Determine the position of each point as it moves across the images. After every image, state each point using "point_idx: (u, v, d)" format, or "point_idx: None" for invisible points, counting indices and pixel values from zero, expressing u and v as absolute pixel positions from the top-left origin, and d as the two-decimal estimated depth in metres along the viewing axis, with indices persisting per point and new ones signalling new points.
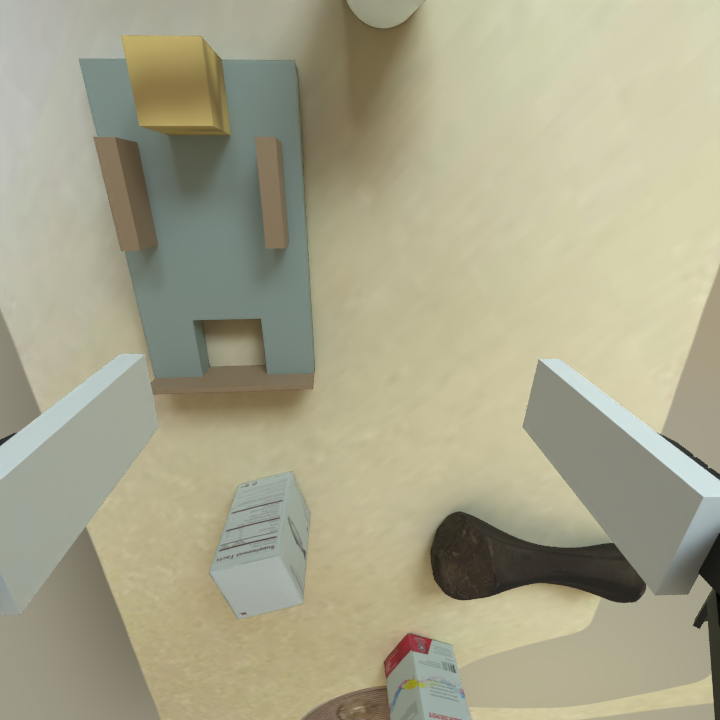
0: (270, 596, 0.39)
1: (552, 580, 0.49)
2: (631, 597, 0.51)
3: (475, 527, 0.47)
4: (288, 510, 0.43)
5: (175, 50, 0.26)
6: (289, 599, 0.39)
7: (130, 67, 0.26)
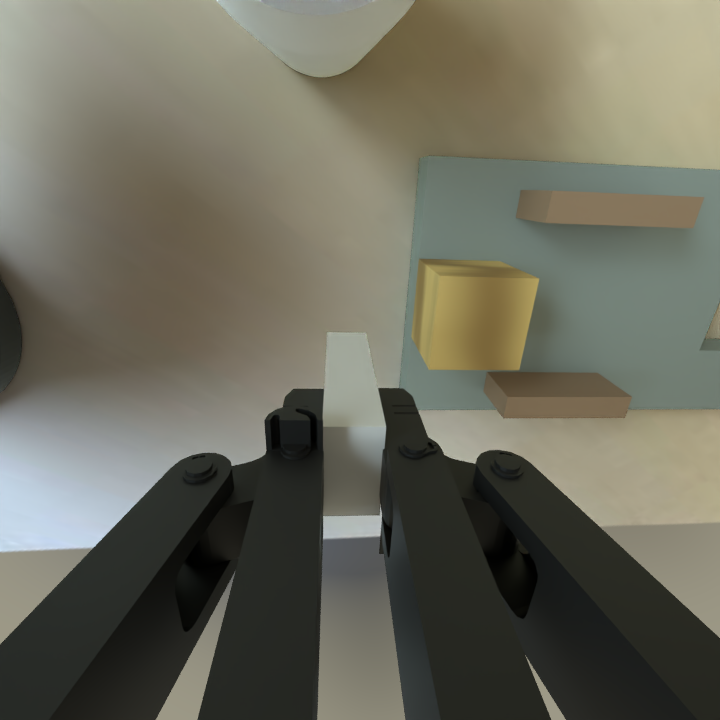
0: None
1: None
2: None
3: None
4: None
5: (450, 311, 0.20)
6: None
7: (460, 366, 0.21)
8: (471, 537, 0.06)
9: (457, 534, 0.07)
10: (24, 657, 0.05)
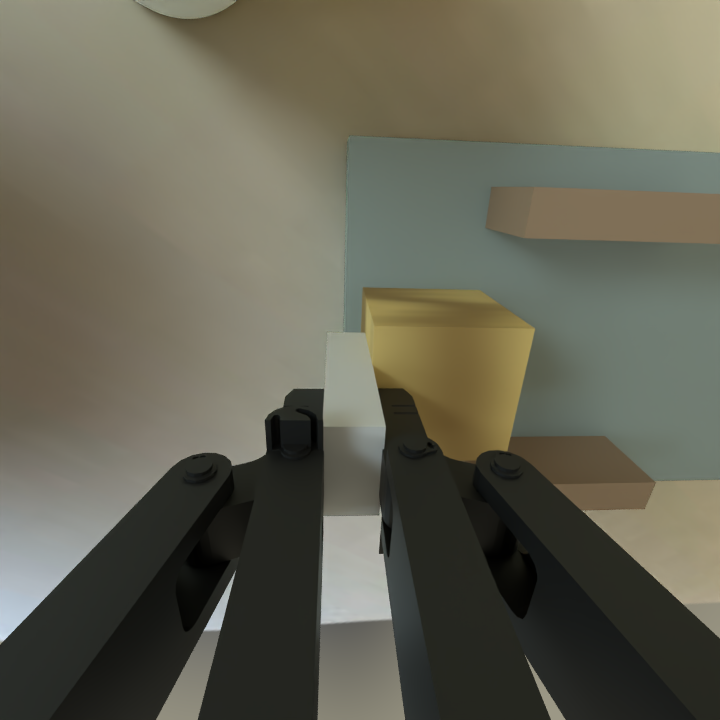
0: None
1: None
2: None
3: None
4: None
5: (395, 378, 0.13)
6: None
7: None
8: (471, 537, 0.06)
9: (457, 534, 0.07)
10: (24, 657, 0.05)
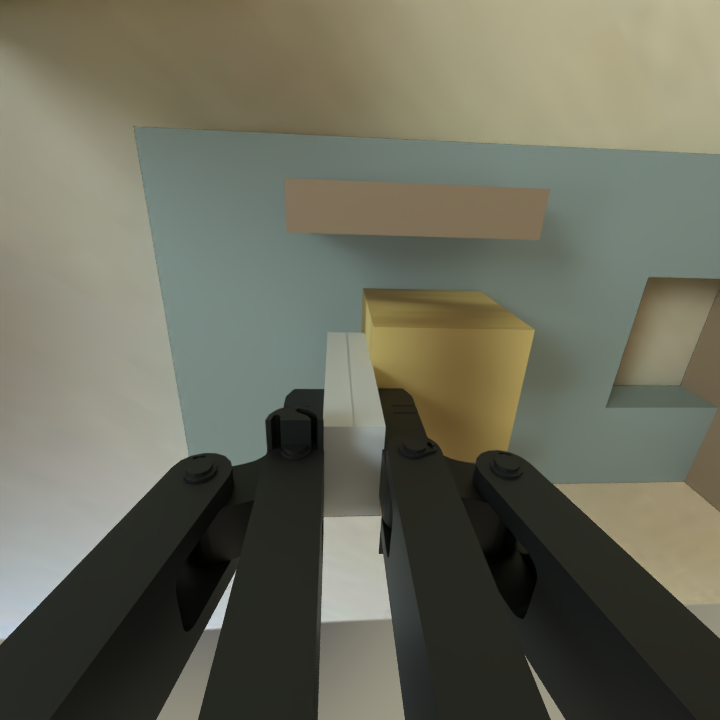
0: None
1: None
2: None
3: None
4: None
5: (394, 379, 0.13)
6: None
7: None
8: (471, 537, 0.06)
9: (457, 534, 0.07)
10: (25, 657, 0.05)
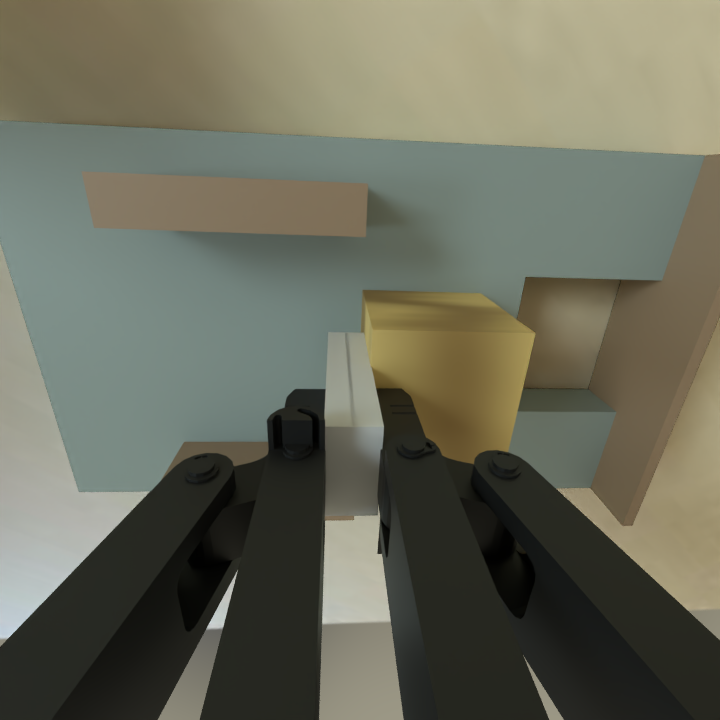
0: None
1: None
2: None
3: None
4: None
5: (393, 382, 0.12)
6: None
7: None
8: (469, 537, 0.06)
9: (455, 534, 0.07)
10: (27, 657, 0.05)
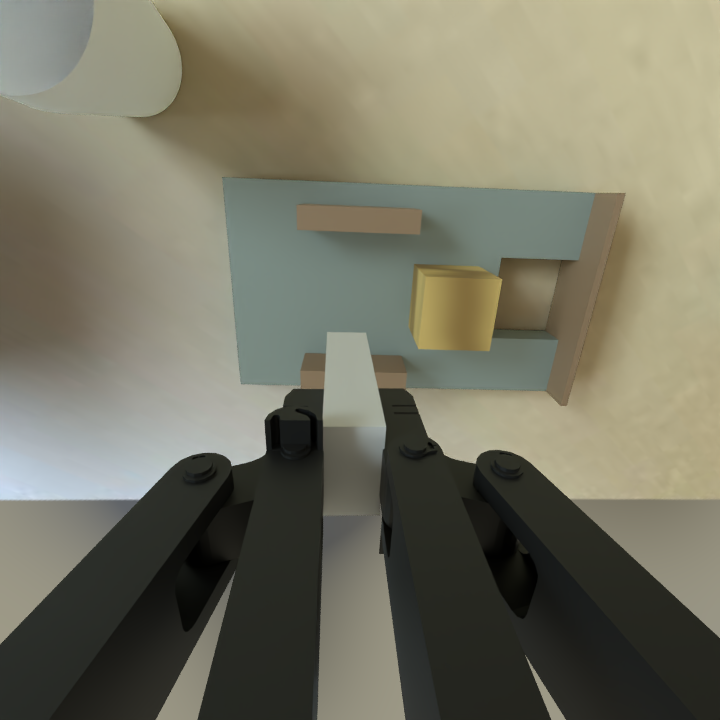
0: None
1: None
2: None
3: None
4: None
5: (434, 303, 0.26)
6: None
7: (443, 347, 0.27)
8: (471, 537, 0.06)
9: (457, 534, 0.07)
10: (24, 657, 0.05)
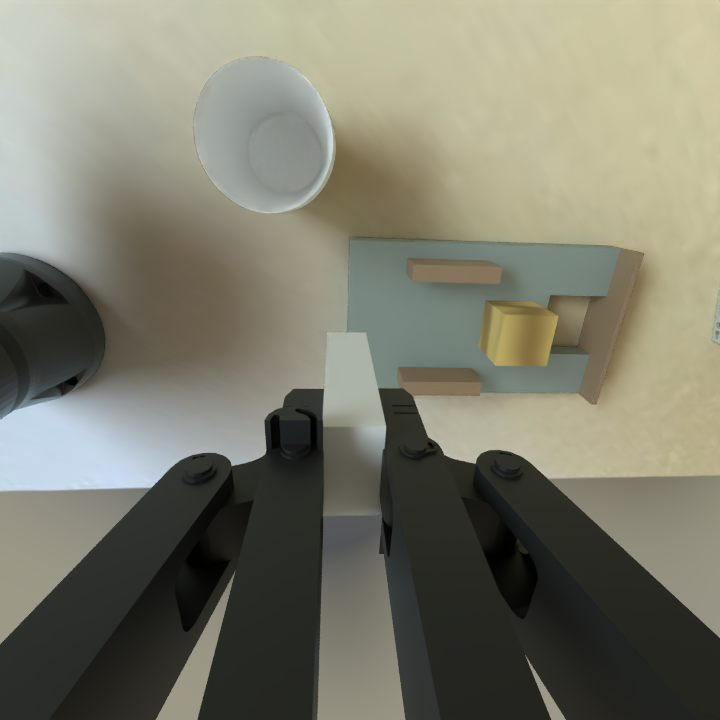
0: None
1: None
2: None
3: None
4: None
5: (509, 333, 0.36)
6: None
7: (513, 364, 0.37)
8: (471, 537, 0.06)
9: (457, 534, 0.07)
10: (24, 657, 0.05)
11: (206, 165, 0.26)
